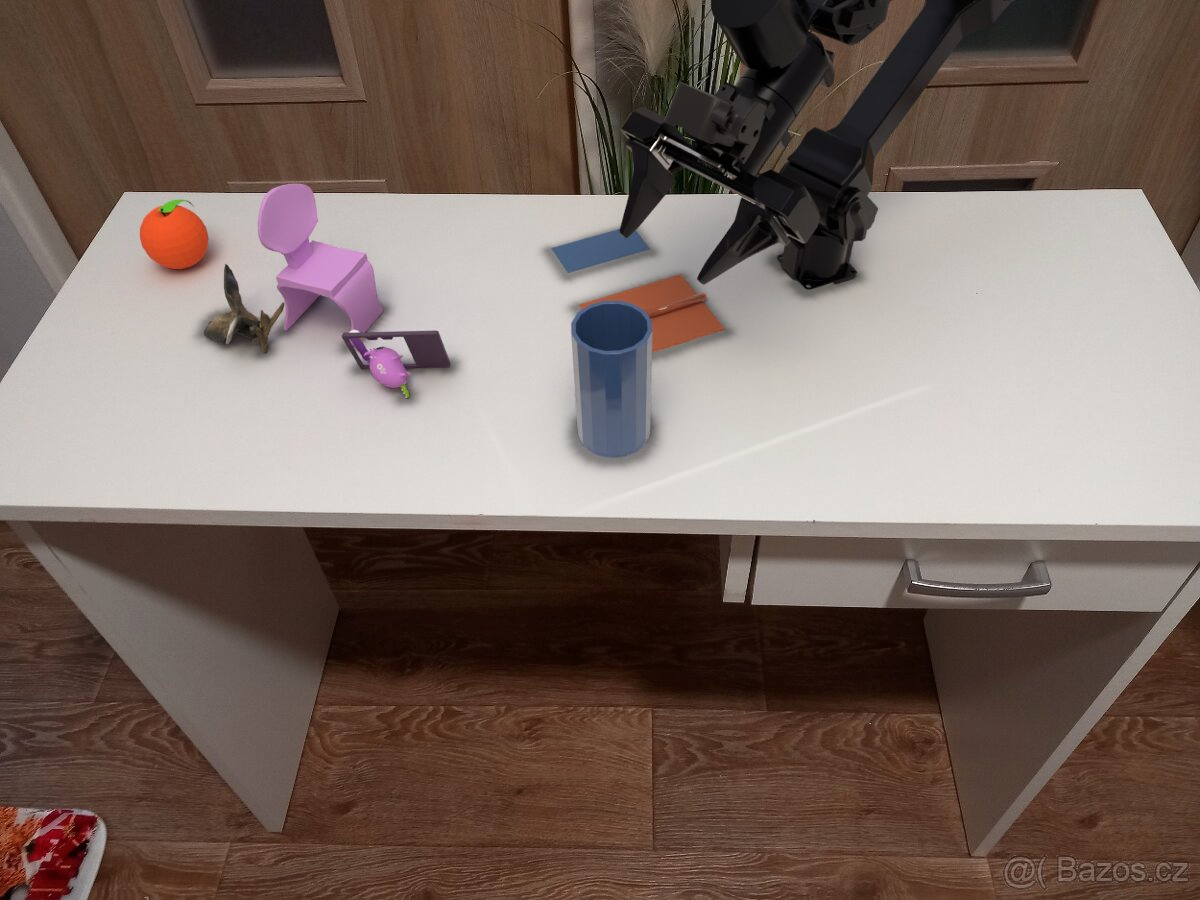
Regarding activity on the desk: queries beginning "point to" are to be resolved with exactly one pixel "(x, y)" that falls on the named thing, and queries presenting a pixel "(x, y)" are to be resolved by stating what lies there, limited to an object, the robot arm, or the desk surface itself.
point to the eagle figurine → (240, 317)
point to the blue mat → (598, 250)
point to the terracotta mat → (674, 323)
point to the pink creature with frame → (387, 361)
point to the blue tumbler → (612, 377)
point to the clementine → (174, 236)
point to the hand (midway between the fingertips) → (660, 258)
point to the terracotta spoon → (676, 305)
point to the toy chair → (314, 260)
